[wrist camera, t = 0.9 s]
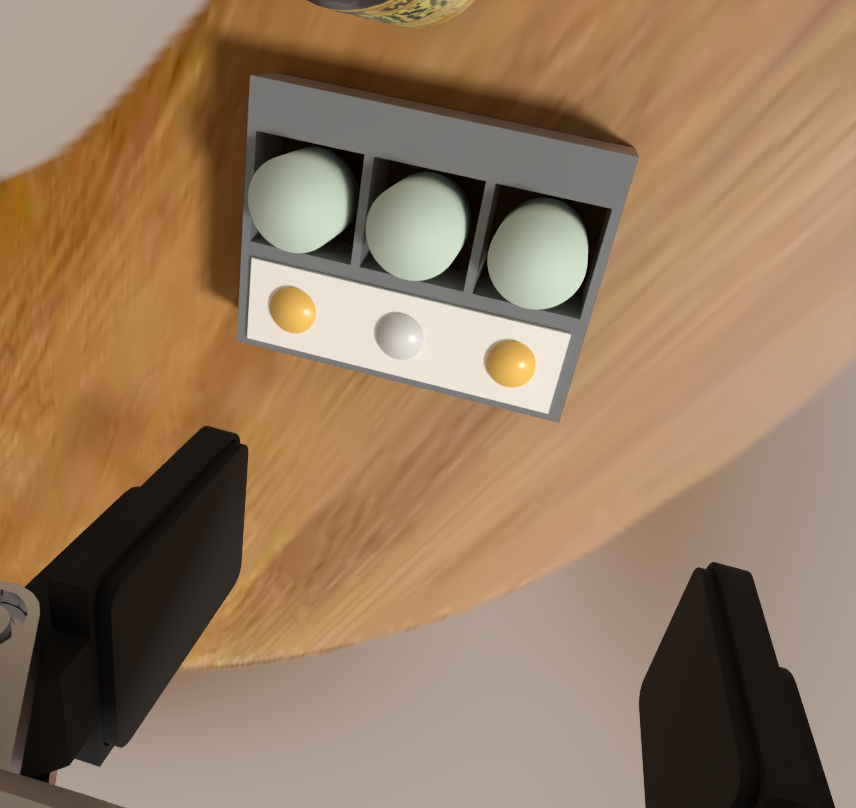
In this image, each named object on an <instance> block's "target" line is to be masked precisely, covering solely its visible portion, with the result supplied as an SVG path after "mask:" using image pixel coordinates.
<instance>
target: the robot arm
mask: <svg viewBox="0 0 856 808" xmlns="http://www.w3.org/2000/svg"><path fill="white" fill-rule="evenodd" d="M247 466H248V447H247V446H246V445H244V444H240V438H239V436H238V435H237V434H236V433H232V432H228V431H224V430H221V429H217V428H213V427H209V426H204V427H202V428H201V429H200V430H199V431H198V432H197V433H196V434H195V435H194V436H193V437H192V438H190V439H189V440H188V441H187V442H186V443H185V444H184V445H183V446H182V447H181V448H180V449H179V450H178V451H177V452H176V453H175V454H174V455H173V456H172V457H171V458H170V459H169V460H168V461H167V462H166V463H165V464H163V465H162V466H161V467H160V468H159V469H158V470H157V471H156V472H155V473H154V474H153V475H152V476H151V477H150V478H149V479H148V480H147V481H146V482H145V483H144V484H143V485H142V486H141V487H138V486H137V487H133V488H131V489H129V490H128V491H126V492H125V493H124V494H123V495H122V496H121V497H120V498H118V499H117V500H116V501H115V502H114V503H113V504H112V505H111V506H110V507H109V508H108V509H107V510H106V511H105V512H104V513H103V514H102V515H100V516H99V517H98V518H97V519H96V520H95V521H94V522H93V523H92V524H91V525H90V526H89V527H88V528H87V529H86V530H85V531H83V532H82V533H81V534H80V535H79V536H78V537H77V538H76V539H75V540H74V541H73V542H72V543H71V544H70V545H69V546H68V547H67V548H65V549H64V550H63V551H62V552H61V553H60V554H59V555H58V556H57V557H56V558H55V559H54V560H53V561H52V562H51V563H50V564H49V565H47V566H46V567H45V568H44V569H43V570H42V571H41V572H40V573H39V574H38V575H37V576H36V577H35V578H34V579H33V580H32V581H30V582H29V583H28V584H27V585H26V586H25V587H23V586H21V585H17V584H13V583H9V582H0V808H124V807H121V806H118V805H115V804H112V803H109V802H106V801H103V800H100V799H97V798H94V797H91V796H87V795H84V794H81V793H78V792H75V791H72V790H68V789H65V788H62V787H58V786H55V783H56V782H55V781H56V775H57V770H58V769H61V768H63V767H66V766H69V765H70V764H71V763H72V761H73V760H74V758H75V759H78V760H81V761H84V762H87V763H90V764H93V765H96V766H99V767H100V766H101V764H102V763H103V761H104V760H105V759H106V757H107V756H108V754H109V752H110V751H111V750H112V748H113V747H114V746H117V747H120V748H121V747H124V746H125V745H126V744H127V743H128V742H129V741H130V740H131V738H132V737H133V735H134V734H135V732H136V730H137V729H138V728H139V726H140V725H141V723H142V722H143V720H144V719H145V717H146V716H147V714H148V713H149V711H150V710H151V709H152V707H153V705H154V704H155V702H156V701H157V700H158V698H159V696H160V695H161V694H162V692H163V691H164V689H165V688H166V686H167V685H168V683H169V682H170V680H171V679H172V677H173V676H174V674H175V673H176V671H177V670H178V668H179V667H180V665H181V664H182V662H183V661H184V659H185V658H186V657H187V655H188V654H189V652H190V651H191V649H192V648H193V646H194V645H195V643H196V642H197V640H198V639H199V637H200V636H201V634H202V633H203V631H204V630H205V628H206V627H207V625H208V624H209V622H210V621H211V619H212V618H213V616H214V615H215V613H216V612H217V610H218V609H219V607H220V606H221V605H222V603H223V602H224V600H225V599H226V597H227V596H228V594H229V593H230V591H231V590H232V588H233V587H234V585H235V583H236V581H237V579H238V576H239V573H240V569H241V562H242V546H243V530H244V514H245V498H246V482H247ZM639 712H640V726H641V727H640V728H641V743H642V758H643V773H644V787H645V788H644V789H645V805H646V808H835V806H834V802H833V799H832V796H831V793H830V790H829V786H828V783H827V780H826V777H825V774H824V771H823V767H822V764H821V761H820V758H819V755H818V752H817V748H816V745H815V742H814V739H813V735H812V733H811V729H810V726H809V723H808V720H807V716H806V713H805V710H804V707H803V704H802V700H801V698H800V694H799V691H798V688H797V685H796V682H795V680H794V677H793V675H792V674H791V673H790V672H789V671H788V670H787V669H785V668H782V667H779V665H778V661H777V658H776V654H775V651H774V648H773V645H772V641H771V638H770V634H769V631H768V627H767V624H766V621H765V617H764V614H763V610H762V607H761V604H760V600H759V597H758V593H757V590H756V587H755V584H754V580H753V577H752V575H751V573H750V572H748V571H745V570H741V569H738V568H734V567H730V566H726V565H723V564H719V563H715V562H712V563H710V564H709V565H708V567H707V568H706V569H703V568H696V569H695V570H694V572H693V574H692V576H691V578H690V580H689V582H688V584H687V587H686V589H685V591H684V593H683V595H682V598H681V600H680V602H679V604H678V606H677V608H676V611H675V613H674V615H673V617H672V619H671V621H670V624H669V626H668V628H667V630H666V632H665V634H664V637H663V639H662V641H661V643H660V645H659V647H658V650H657V652H656V654H655V656H654V659H653V661H652V663H651V665H650V667H649V669H648V671H647V674H646V676H645V678H644V680H643V683H642V686H641V690H640V697H639Z"/></svg>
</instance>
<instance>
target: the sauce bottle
mask: <svg viewBox="0 0 856 808" xmlns="http://www.w3.org/2000/svg"><path fill="white" fill-rule="evenodd" d="M308 1H310V2H312V3H314V4H316V5H318V6H322V7H325V8H328V9H331V10H334V11H337V12H341V13H347V14H351V15H355V16H358V17H363V18H365V19H371V20H376V21H380V22H383V23H389V24H393V25H397V26H401V27H407V28H426V27H431V26H435V25H438V24H441V23H444V22H446V21H449V20H450V19H452V18H454V17H456V16H457V15H459V14H461V13H462V12H463V11H464V10H465V9H467V8H468V7H469V6H470V5H471V4H472V3H473V2H474V1H475V0H308Z"/></svg>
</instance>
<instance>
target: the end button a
mask: <svg viewBox="0 0 856 808" xmlns="http://www.w3.org/2000/svg"><path fill="white" fill-rule="evenodd" d="M359 195H360V193H359V186H358V182H357V179H356V177H355V175H354V173H353V171H352V169H351V168H350V166H349V165H348V164H347V163H346V162H345V161H344V160H343V159H342V158H341V157H340V156H339V155H337V154H336V153H334V152H332V151H330V150H328V149H324V148H320V147H306V148H302V149H299V150H296V151H293V152H290V153H287V154H284V155H281V156H278V157H275V158H273V159H271V160H268V161H267V162H265V163H264V164H263V165H262V166H261V167H260V168H259V169H258V170H257V171H256V172H255V174H254V176H253V178H252V180H251V183H250V186H249V191H248V206H249V211H250V215H251V217H252V220H253V222H254V224H255V226H256V228H257V229H258V231H259V232H260V233H261V235H262V236H263V237H264V238H265V239H266V240H267V241H268V242H270V243H271V244H272V245H274V246H275V247H277V248H279V249H281V250H284V251H287V252H291V253H307V252H311V251H314V250H316V249H318V248H320V247H321V246H323V245H324V244H325V243H327V242H328V241H330V240H331V239H332V238H334V237H335V236H337V235H338V234H339V233H341V232H342V231H344V230H345V229H346V228H347V227H348V226H349V225H350V224H351V223H352V221H353V220H354V218H355V216H356V214H357V211H358V203H359Z"/></svg>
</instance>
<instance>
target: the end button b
mask: <svg viewBox="0 0 856 808" xmlns="http://www.w3.org/2000/svg"><path fill="white" fill-rule="evenodd" d="M587 263H588V234H587V229H586V227H585V224H584V222H583V220H582V218H581V217H580V216H579V214H578V213H577V212H576V211H575V210H574V209H573V208H572V207H570V206H569V205H567V204H566V203H564V202H562V201H559V200H556V199H552V198H534V199H530V200H527V201H525V202H522V203H521V204H519V205H517V206H516V207H515V208H513V209H512V210H511V211H510V212H509V213H508V214H507V215H506V217H505V218H504V220H503V221H502V223H501V225H500V227H499V228H498V230H497V232H496V234H495V236H494V238H493V239H492V242H491V244H490V247H489V251H488V257H487V265H488V271H489V275H490V278H491V281H492V283H493V284H494V286H495V288H496V289H497V291H498V292H499V293H500V294H501V295H502V296H503V297H504V298H505V299H507V300H508V301H509V302H511V303H513V304H515V305H517V306H519V307H523V308H527V309H535V310H539V309H547V308H551V307H554V306H557V305H559V304H561V303H563V302H564V301H566V300H568V299H569V298H570V297H571V296H572V295H573V294H574V293H575V292H576V291H577V290H578V288H579V287H580V285H581V283H582V282H583V280H584V277H585V274H586V270H587Z"/></svg>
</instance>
